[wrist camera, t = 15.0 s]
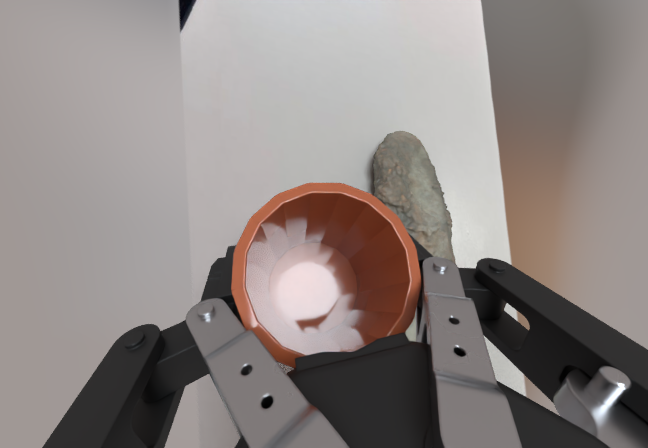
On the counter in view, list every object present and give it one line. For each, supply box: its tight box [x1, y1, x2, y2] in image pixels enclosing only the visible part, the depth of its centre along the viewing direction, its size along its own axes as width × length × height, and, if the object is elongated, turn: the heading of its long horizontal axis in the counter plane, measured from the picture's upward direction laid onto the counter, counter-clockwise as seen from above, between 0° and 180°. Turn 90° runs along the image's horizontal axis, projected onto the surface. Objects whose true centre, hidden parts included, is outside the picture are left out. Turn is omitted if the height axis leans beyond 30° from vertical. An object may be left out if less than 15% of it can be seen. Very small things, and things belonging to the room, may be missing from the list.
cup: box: [231, 183, 422, 368], centre depth 13 cm, size 6×6×8 cm
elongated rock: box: [373, 131, 455, 342], centre depth 30 cm, size 35×5×10 cm
